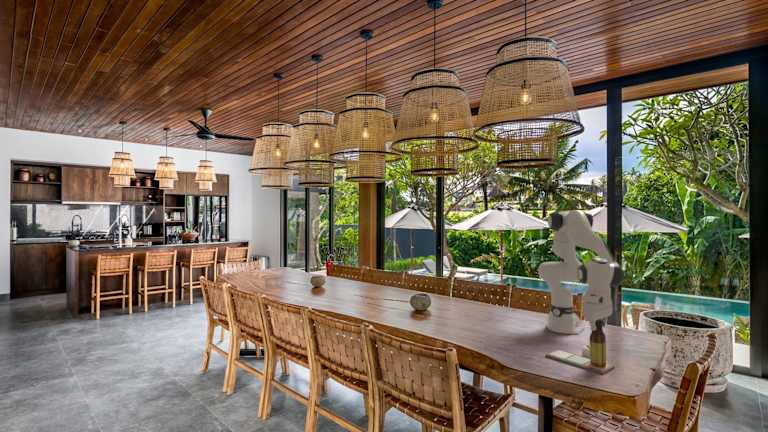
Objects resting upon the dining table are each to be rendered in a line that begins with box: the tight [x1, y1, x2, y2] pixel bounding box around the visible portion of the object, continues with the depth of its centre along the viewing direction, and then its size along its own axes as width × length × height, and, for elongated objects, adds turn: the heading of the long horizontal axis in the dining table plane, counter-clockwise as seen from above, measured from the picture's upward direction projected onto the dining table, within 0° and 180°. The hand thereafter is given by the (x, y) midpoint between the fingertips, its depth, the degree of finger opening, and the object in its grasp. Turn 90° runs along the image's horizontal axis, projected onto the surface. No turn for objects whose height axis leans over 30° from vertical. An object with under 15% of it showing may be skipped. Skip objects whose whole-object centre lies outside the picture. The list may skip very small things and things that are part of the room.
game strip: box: [544, 348, 616, 375], centre depth 173 cm, size 12×25×1 cm, turn 38°
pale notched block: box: [581, 345, 590, 358], centre depth 179 cm, size 4×4×5 cm
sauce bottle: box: [589, 318, 607, 367], centre depth 167 cm, size 7×6×20 cm
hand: (598, 328), depth 167 cm, fingers open, 8 cm apart
